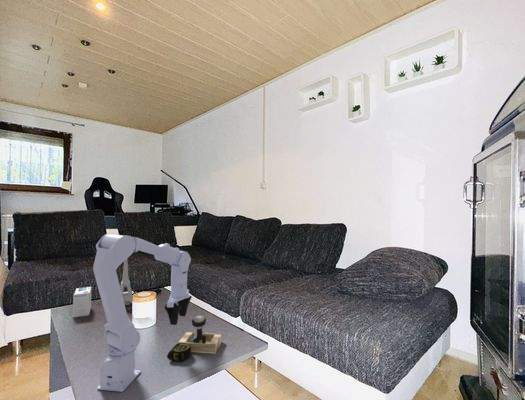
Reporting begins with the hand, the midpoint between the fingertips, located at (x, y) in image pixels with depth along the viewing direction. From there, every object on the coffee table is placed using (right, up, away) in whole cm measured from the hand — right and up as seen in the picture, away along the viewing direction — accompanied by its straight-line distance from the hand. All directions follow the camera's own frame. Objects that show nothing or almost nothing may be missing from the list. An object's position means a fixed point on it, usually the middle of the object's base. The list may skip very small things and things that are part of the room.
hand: (178, 320), depth 103 cm
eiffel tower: (-40, -11, +40) cm, 58 cm away
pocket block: (+8, -10, +1) cm, 13 cm away
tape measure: (+2, -11, -6) cm, 13 cm away
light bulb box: (-56, -10, +31) cm, 65 cm away
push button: (+7, -10, +1) cm, 12 cm away
